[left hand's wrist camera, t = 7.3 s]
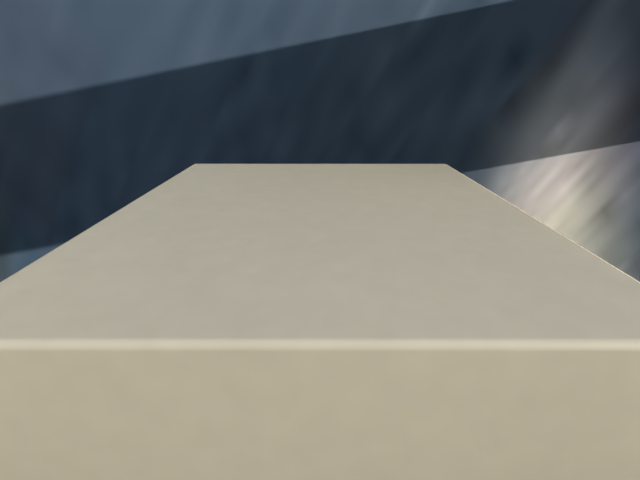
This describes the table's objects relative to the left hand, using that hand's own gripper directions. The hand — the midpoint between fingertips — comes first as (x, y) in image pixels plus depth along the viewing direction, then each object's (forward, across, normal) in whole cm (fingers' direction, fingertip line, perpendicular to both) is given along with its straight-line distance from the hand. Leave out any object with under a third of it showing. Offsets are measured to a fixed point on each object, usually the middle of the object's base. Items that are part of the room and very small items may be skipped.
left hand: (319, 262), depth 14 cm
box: (+1, 0, -10) cm, 10 cm away
